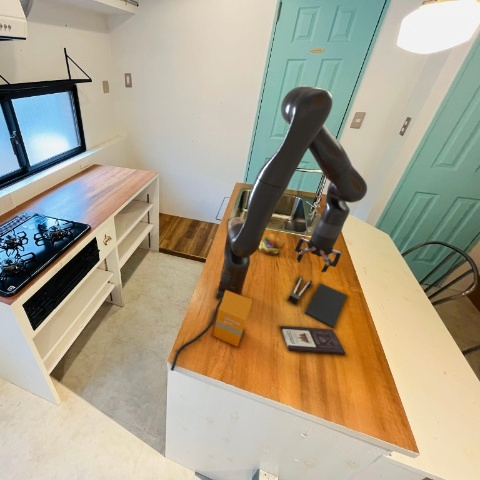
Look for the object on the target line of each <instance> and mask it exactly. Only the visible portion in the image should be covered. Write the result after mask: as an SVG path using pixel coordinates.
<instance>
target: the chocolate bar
mask: <svg viewBox="0 0 480 480" xmlns="http://www.w3.org/2000/svg"><path fill="white" fill-rule="evenodd" d="M280 329H281V332H282V335H283V338H284V341H285V344H286V346H287V349H288V351H291V352H292V351H293V352H306V353H319V354H331V355H345V354H346V351H345V350H344V347H343V345H342V344H341V341H340V340H339V338H338V336H337V335H336V333H335V331H334V328H332V329H331V328H320V327H319V328H318V327H306V326H305V327H303V326H291V325H281V326H280Z"/></svg>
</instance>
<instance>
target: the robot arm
mask: <svg viewBox="0 0 480 480" xmlns="http://www.w3.org/2000/svg"><path fill="white" fill-rule="evenodd" d="M333 101H334V100H333V96H332V94H331V92H329V91H328V90H326V89H324V88H320V87H315V86H310V85H299V86H296V87H294V88H292V89H291V90H289V91H288V92H287V93H286V94H285V96H284V97H283V99H282V102H281V104H280V113H281V117H282V119H283V121H285V122H286V123H287V124H288V129H287V131H286V133H285V135H284V138H283V140H282V142H281V144H280V145H279V147H278V148H277V149H276V151H275V152H274V153H273V154H272V155H271V156H270V157H269V159H267V161H266V162H264V163H263V165H262V166H261V167H260V168H259V170H258V172H257V174H256V176H255V179H254V181H253V183H252V186H251V188H250V190H249V191H250V192H249V196H248V200H247V201H248V202H247V209H246V215H245V219H244V220H245V222H244V223H238V224H235V225H234V226H232V227H231V228H230V230H229V231H228V230H227V234H226V240H225V245H224V250H223V251H224V253H223V254H224V256H223V257H224V258H223V264H222V269H221V273H220V278H219V282H218V289H217V293H216V298H217V299H219V301H218V302H217V305H216V307H215V310H214V312H213V315H212V318H211V320H210V322H209V324H208V325H207V327H206V328H205V329H204V330H203V331H201V332H200V333H199V334H198V335H196V336H195V337H194V338H193V339H190V340H189V341H187V342H185V343H184V344H183V345H181V346H180V347H179V348H178V350H177V351H176V353H175V355H174V358H173V361H172V365H171V368H170V371H172V372H173V371H174V370H175V367H176V364H177V359H178V357H179V354H180V353H181V352H182V350H183V349H185V348H186V347H187V346H189V345H191V344H193V343H195V342H196V341H198V340H199V338H201V337H203V336H204V334H206V332H208V331H209V330H210V328H211V326H212V325H213V323H214V321H215V318H216V317H217V316H216V315H217V314H218V311H219V308H220V306H221V303H222V299H223V296H224V293H225V290H227V291H230V292H233V293H235V294H238V295H241V296H242V292H243V288H244V285H245V282H246V279H247V274H248V272H249V268H250V264H251V258H250V257H251V256H253V255H254V254H255V253H256V252H257V250H259V246H260V243H261V242H262V240H263V236H264V234H265V231H266V229H267V226H268V224H269V222H270V221H271V218H272V217H273V215H274V213H275V211H276V209H277V207H278V205H279V203H280V202H281V200H282V198H283V196H284V194H285V193H286V191H287V189H288V186H289V184H290V182H291V180H292V178H293V176H294V175H295V173H296V171H297V169H298V167H299V165H300V164H301V162H302V160H303V158H304V157H305V154H306V152H307V151H308V150H309V152H310V153H311V155H312V157H313V158H314V160H315V162H316V163H317V165H318V167H319V169H320V170H321V172H322V174H323V175H324V177H325V178H326V179H327V180H328V181H329V184H328V187H327V190H326V196H325V206H324V209H323V211H322V214H321V216H320V218H319V219H318V221H317V222H316V225H315V227H314V230H313V231H312V234H311V236H310V239H307V238H306V237H305V236H302V237H301V238H300V239H299V240H298V243H297V245H296V247H295V248H294V252H295V253H298V256H297V257H296V261H297V263H301V261H302V260H303V257H304V255H305V254H308V253H310V254H312V255H315V256H317V257H319V258H322V261H323V262H324V265H323V267H322V269H321V271H320V272H321V273H322V274H323V273H326V272H327V271H328V270H329V267H333V268H336V267H337V265H338V263H339V262H340V261H339V260H340V258H341V256H342V253H343V251H342V250H336V249H334V246H335V245H336V243H337V241H338V238H339V237H340V235H341V233H342V231H343V228H344V225H345V223H346V220H348V217H349V214H350V211H351V209H350V207H349V206H348V204H349V203H351V204H352V203H353V204H354V203H358V202H360V201H362V200H363V199H364V198H365V197H366V194H367V193H368V184H367V182H366V180H365V179H364V177H363V176H362V175H361V174H360V173H359V172H358V170H357V169H356V168H355V167H354V166H353V164H352V161H351V160H350V157H349V156H348V153H347V152H346V150H345V148H344V147H343V145H342V144H341V142H339V140H338V139H337V138H336V137H335V136H334V135H333V134H332V133H331V131H330V130H329V129H328V127H327V126H326V125H325V124H326V121H327V120H328V118H329V116H330V114H331V111H332V109H333V103H334V102H333ZM347 203H348V204H347ZM305 244H306V245H307V246H306V247H305V248H301V247H302V245H305ZM331 254H333V257H334V259H333V260H331V256H330V255H331Z"/></svg>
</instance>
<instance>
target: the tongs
mask: <svg viewBox="0 0 480 480" xmlns="http://www.w3.org/2000/svg"><path fill="white" fill-rule="evenodd" d="M303 277H304V276H302V275H300V276H299V277H298V279H297V281H296V283H297V284H296V286H295V288H294V290H293V291H292V292H291V293H290V295H289V297H288V299H287V301H288V302H290V303H292V304H293V305H297V304H298V303H299V301H300V299H301V297H302V295H304V293H305V291H306V290H307V289H310V287H311V285H312V284H313V280H311V279H309V280H308V281H307V283H305V285H304V286H303V288H302V289H301V290H300V291H299V293H298V294H297V293H296V292H297V290H298V288H299V286H300V284H301V282H302V280H303Z"/></svg>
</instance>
